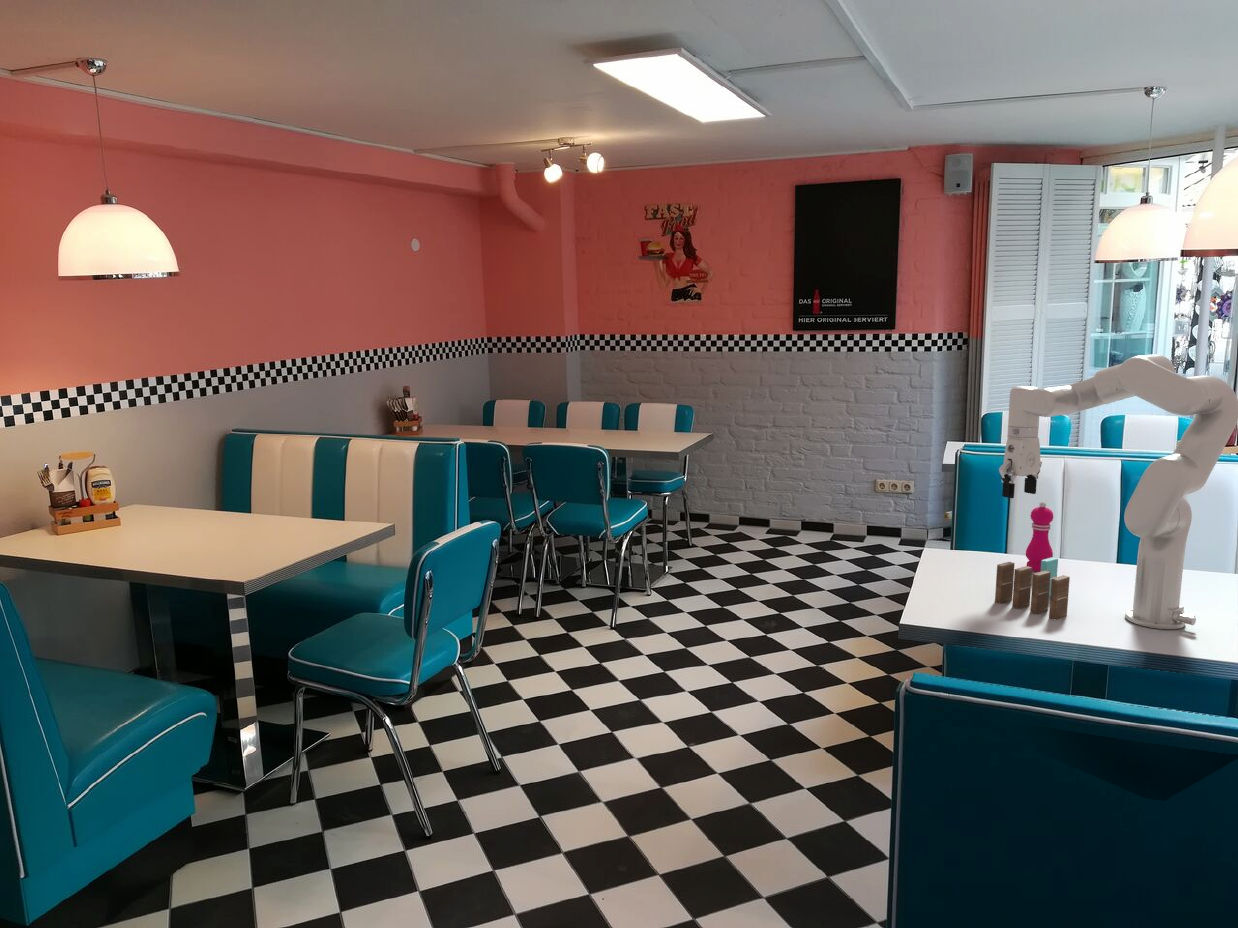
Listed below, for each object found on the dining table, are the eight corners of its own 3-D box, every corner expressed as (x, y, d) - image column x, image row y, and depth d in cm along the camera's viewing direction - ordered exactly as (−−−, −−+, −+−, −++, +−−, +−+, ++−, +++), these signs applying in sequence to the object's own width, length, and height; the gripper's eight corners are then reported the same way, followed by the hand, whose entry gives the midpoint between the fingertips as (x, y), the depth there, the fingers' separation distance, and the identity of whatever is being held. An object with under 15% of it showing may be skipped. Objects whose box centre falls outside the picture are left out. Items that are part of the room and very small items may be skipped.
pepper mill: (1046, 565, 268) (1051, 499, 265) (1055, 572, 261) (1060, 504, 258) (1021, 565, 269) (1025, 499, 266) (1029, 572, 262) (1034, 504, 259)
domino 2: (1029, 605, 234) (1032, 567, 232) (1018, 608, 231) (1020, 570, 229) (1023, 603, 235) (1026, 565, 233) (1012, 607, 232) (1014, 569, 231)
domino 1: (1012, 600, 238) (1014, 563, 236) (1000, 603, 235) (1002, 566, 233) (1006, 598, 239) (1008, 561, 238) (994, 601, 237) (997, 564, 235)
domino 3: (1048, 610, 230) (1050, 572, 228) (1036, 614, 227) (1038, 575, 225) (1041, 608, 231) (1044, 570, 229) (1030, 612, 228) (1032, 573, 227)
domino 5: (1066, 615, 225) (1069, 576, 224) (1055, 619, 223) (1057, 580, 221) (1060, 613, 227) (1063, 575, 225) (1048, 617, 224) (1051, 578, 222)
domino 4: (1055, 595, 241) (1058, 558, 240) (1044, 598, 239) (1047, 561, 237) (1049, 593, 243) (1052, 557, 241) (1038, 596, 240) (1041, 560, 238)
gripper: (1015, 436, 236) (1011, 501, 239) (1054, 431, 245) (1050, 493, 248) (990, 433, 242) (986, 496, 245) (1029, 428, 252) (1025, 489, 254)
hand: (1019, 495), depth 247 cm, fingers open, 9 cm apart
